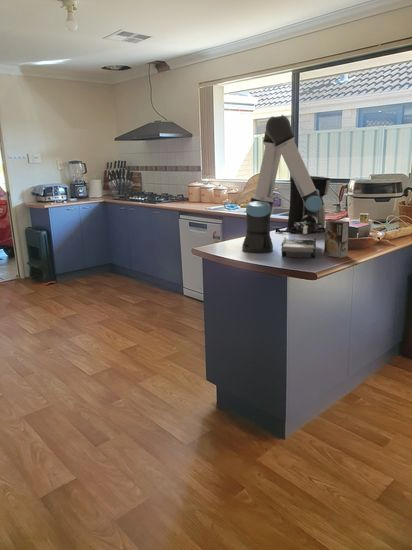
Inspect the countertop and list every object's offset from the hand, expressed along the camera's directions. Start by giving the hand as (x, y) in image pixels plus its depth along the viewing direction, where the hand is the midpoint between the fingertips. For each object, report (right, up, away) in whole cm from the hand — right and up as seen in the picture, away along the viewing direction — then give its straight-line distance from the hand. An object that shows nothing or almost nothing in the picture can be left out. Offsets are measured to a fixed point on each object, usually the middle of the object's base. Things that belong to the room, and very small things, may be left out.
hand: (304, 230), depth 190 cm
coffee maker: (+16, +8, +82) cm, 84 cm away
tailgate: (-2, -6, +5) cm, 8 cm away
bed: (0, -10, +14) cm, 17 cm away
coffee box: (+17, -11, +11) cm, 23 cm away
